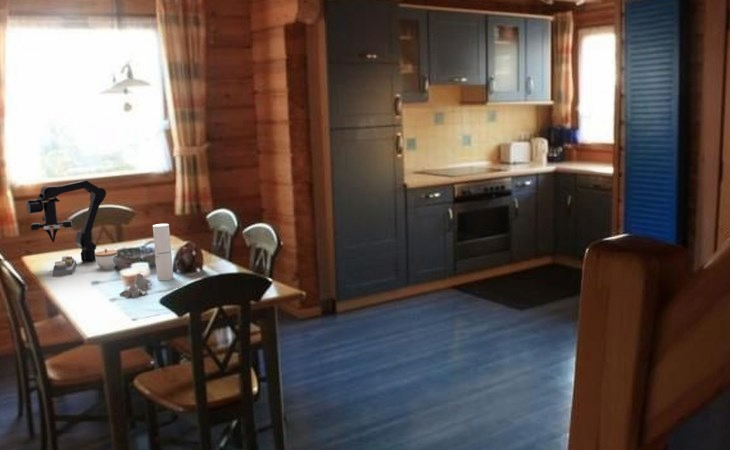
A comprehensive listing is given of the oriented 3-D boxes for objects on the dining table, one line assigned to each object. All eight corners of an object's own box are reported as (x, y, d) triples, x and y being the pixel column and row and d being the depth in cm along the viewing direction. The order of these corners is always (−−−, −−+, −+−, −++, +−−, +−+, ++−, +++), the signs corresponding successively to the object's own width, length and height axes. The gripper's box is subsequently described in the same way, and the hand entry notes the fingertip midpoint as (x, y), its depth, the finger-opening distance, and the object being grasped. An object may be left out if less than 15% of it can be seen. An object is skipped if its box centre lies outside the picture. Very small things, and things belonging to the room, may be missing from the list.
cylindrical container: (169, 280, 321) (164, 226, 316) (154, 280, 322) (149, 226, 318) (176, 276, 328) (171, 223, 323) (162, 276, 329) (157, 223, 325)
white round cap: (73, 266, 356) (72, 255, 355) (72, 268, 352) (71, 256, 351) (63, 266, 355) (62, 255, 354) (62, 269, 351) (61, 257, 350)
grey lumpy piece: (148, 293, 293) (130, 279, 292) (133, 311, 294) (115, 297, 292) (157, 283, 313) (140, 270, 311) (143, 300, 313) (126, 287, 312)
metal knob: (73, 264, 350) (72, 256, 349) (72, 265, 347) (71, 257, 346) (66, 264, 349) (65, 257, 348) (66, 266, 346) (65, 258, 345)
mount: (76, 265, 359) (75, 257, 358) (72, 274, 339) (71, 266, 339) (57, 266, 357) (57, 259, 356) (52, 276, 337) (51, 268, 336)
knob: (67, 271, 345) (65, 260, 344) (66, 273, 340) (64, 262, 339) (56, 272, 343) (55, 261, 342) (55, 274, 339) (54, 263, 338)
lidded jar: (122, 264, 356) (120, 246, 354) (113, 270, 346) (111, 251, 344) (102, 265, 357) (100, 247, 355) (92, 270, 347) (90, 251, 345)
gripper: (70, 208, 363) (73, 237, 365) (31, 210, 357) (34, 241, 359) (70, 210, 353) (73, 241, 355) (29, 213, 346) (32, 244, 349)
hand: (53, 242), depth 355 cm, fingers closed
